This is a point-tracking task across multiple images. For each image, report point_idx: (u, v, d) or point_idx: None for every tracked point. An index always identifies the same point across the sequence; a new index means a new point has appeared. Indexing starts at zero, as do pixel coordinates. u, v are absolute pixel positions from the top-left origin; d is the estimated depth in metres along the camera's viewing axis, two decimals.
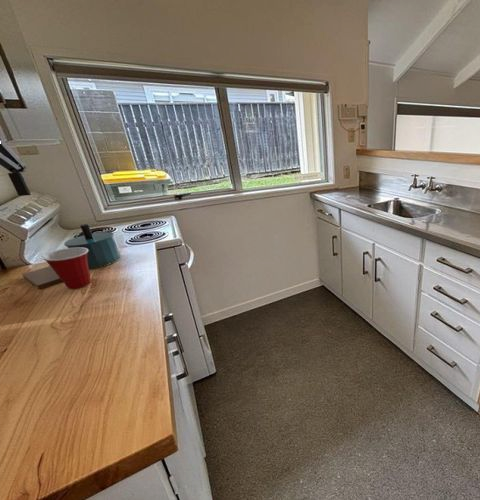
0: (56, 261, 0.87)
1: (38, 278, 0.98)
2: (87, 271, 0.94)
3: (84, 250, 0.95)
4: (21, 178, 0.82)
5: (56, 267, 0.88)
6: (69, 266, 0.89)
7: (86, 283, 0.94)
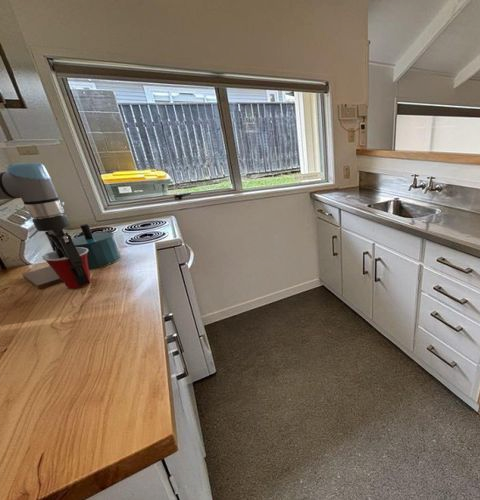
0: (56, 261, 0.87)
1: (38, 278, 0.98)
2: (87, 271, 0.94)
3: (84, 250, 0.95)
4: None
5: (56, 267, 0.88)
6: (69, 266, 0.89)
7: None
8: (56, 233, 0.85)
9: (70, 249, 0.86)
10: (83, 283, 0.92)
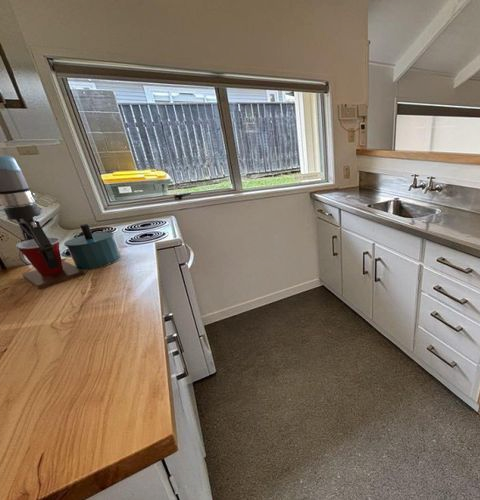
0: (28, 249, 0.93)
1: (38, 278, 0.98)
2: (59, 259, 1.01)
3: (57, 240, 1.02)
4: None
5: (28, 255, 0.95)
6: (41, 254, 0.96)
7: (58, 270, 1.01)
8: (26, 221, 0.92)
9: (39, 233, 0.92)
10: (53, 266, 0.96)
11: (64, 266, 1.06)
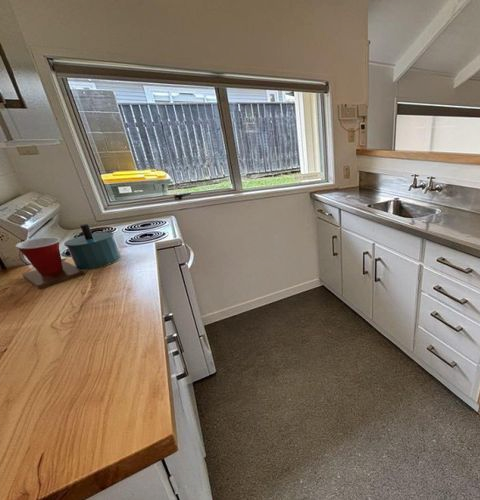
0: (28, 249, 0.93)
1: (38, 278, 0.98)
2: (59, 259, 1.01)
3: (57, 240, 1.02)
4: None
5: (28, 255, 0.95)
6: (41, 254, 0.96)
7: (58, 270, 1.01)
8: None
9: None
10: None
11: (64, 266, 1.06)
